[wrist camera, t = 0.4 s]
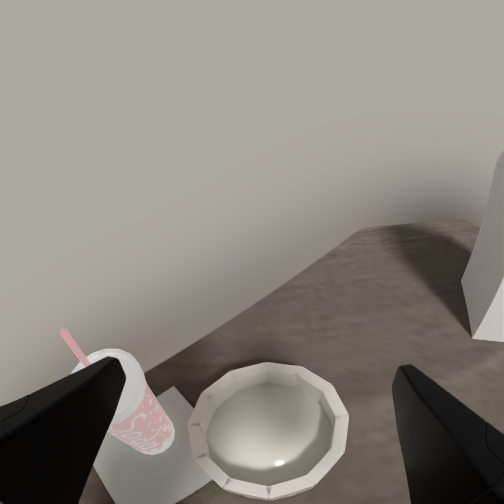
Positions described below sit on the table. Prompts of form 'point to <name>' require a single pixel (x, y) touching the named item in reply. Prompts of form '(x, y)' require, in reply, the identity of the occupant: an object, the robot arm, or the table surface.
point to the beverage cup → (132, 404)
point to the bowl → (268, 430)
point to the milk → (488, 267)
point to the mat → (153, 463)
